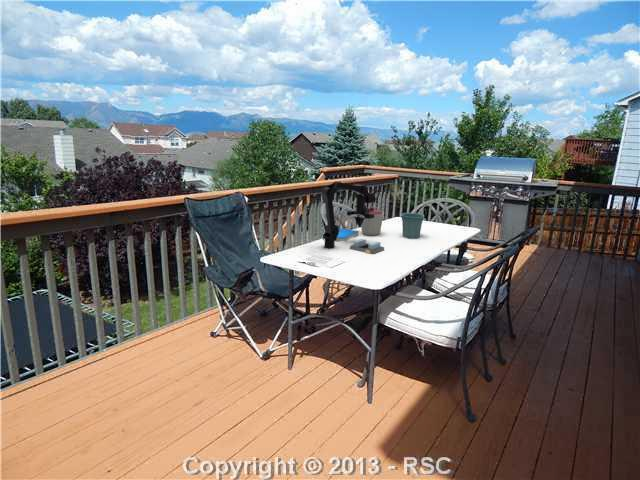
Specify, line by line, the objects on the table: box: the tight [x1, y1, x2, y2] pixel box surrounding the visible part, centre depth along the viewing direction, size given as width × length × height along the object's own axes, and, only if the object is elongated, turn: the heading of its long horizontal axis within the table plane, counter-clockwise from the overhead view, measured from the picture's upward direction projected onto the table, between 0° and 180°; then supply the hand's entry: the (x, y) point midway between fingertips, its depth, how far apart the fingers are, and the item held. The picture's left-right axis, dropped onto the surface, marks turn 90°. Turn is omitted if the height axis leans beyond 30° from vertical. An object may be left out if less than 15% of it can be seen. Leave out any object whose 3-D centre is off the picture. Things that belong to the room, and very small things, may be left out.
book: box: [322, 228, 360, 243], centre depth 293 cm, size 17×4×25 cm
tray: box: [301, 253, 345, 269], centre depth 239 cm, size 20×28×4 cm
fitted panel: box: [353, 238, 367, 247], centre depth 262 cm, size 9×3×5 cm, turn 139°
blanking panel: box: [368, 241, 381, 250], centre depth 255 cm, size 9×3×5 cm, turn 139°
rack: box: [349, 242, 385, 255], centre depth 259 cm, size 13×19×3 cm
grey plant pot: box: [360, 206, 385, 237], centre depth 301 cm, size 18×18×21 cm
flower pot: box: [400, 212, 425, 239], centre depth 296 cm, size 16×16×16 cm
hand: (359, 227), depth 272 cm, fingers closed
